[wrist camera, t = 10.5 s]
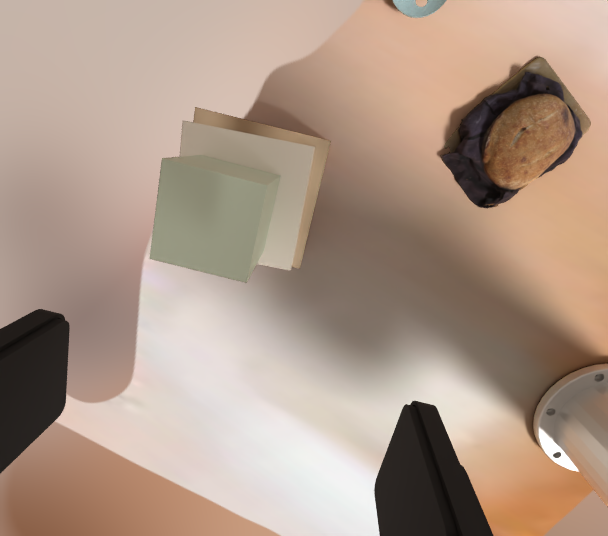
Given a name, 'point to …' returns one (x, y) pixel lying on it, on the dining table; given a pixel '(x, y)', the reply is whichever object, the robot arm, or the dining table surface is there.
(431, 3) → the pacifier
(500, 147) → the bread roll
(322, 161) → the tower base
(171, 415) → the dining table surface
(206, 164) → the sage block
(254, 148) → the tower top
